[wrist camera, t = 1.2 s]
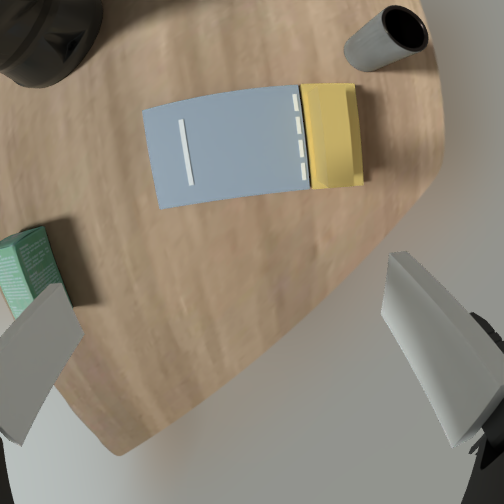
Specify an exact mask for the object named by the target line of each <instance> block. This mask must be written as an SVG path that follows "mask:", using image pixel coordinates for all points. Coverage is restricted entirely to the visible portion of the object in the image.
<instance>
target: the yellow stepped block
mask: <svg viewBox="0 0 504 504" xmlns="http://www.w3.org/2000/svg"><path fill="white" fill-rule="evenodd" d="M299 87H300V93H301V101H302V108H303V116H304V124H305V132H306V141H307V150H308V160H309V171H310V182H311V188H312V189H322V188H336V187H348V186H359V185H363V164H362V149H361V137H360V126H359V116H358V108H357V100H356V92H355V85H354V84H350V83H318V84H301V85H300V86H299Z"/></svg>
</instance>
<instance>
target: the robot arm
mask: <svg viewBox="0 0 504 504" xmlns="http://www.w3.org/2000/svg"><path fill="white" fill-rule="evenodd" d="M102 15H103V8H102V3H101V0H0V73H2V74H4V75H5V76H7V77H9V78H10V79H12V80H13V81H14V82H16V83H17V84H18V85H20V86H23V87H27V88H45V87H48V86H51V85H53V84H55V83H57V82H59V81H60V80H62V79H63V78H64V77H66V76H67V75H68V74H69V73H70V72H71V71H72V70H73V69H74V68H75V67H76V66H77V65H78V64H79V63H80V62H81V60H82V59H83V58H84V57H85V55H86V54H87V52H88V51H89V49H90V48H91V46H92V44H93V42H94V40H95V38H96V36H97V34H98V31H99V29H100V25H101V21H102ZM381 315H382V317H383V318H384V320H385V322H386V323H387V325H388V327H389V328H390V330H391V332H392V334H393V335H394V337H395V338H396V340H397V342H398V344H399V346H400V347H401V349H402V351H403V352H404V354H405V356H406V358H407V360H408V361H409V363H410V365H411V367H412V369H413V371H414V372H415V374H416V376H417V378H418V380H419V382H420V384H421V386H422V387H423V389H424V391H425V393H426V395H427V397H428V399H429V401H430V403H431V405H432V407H433V409H434V411H435V413H436V415H437V417H438V419H439V421H440V424H441V426H442V428H443V430H444V432H445V434H446V436H447V439H448V441H449V443H450V445H451V448H454V447H456V446H458V445H460V444H462V443H464V442H466V441H468V440H469V439H471V438H472V437H473V436H474V435H475V434H476V433H477V432H478V430H479V429H480V428H481V427H482V429H483V431H484V432H485V433H484V434H483V436H482V437H481V438H480V439H479V440H478V441H477V442H476V443H475V444H474V446H472V447H471V449H470V451H469V454H472V453H473V452H474V451H475V450H476V449H477V448H478V447H479V449H478V452H477V453H476V455H477V457H476V460H475V464H474V467H473V470H472V474H471V477H470V480H469V483H468V486H467V489H466V492H465V494H464V497H463V500H462V502H461V504H504V341H502V338H501V337H500V336H499V334H498V333H497V332H496V333H495V330H494V329H493V328H492V327H491V325H490V324H489V323H488V322H487V321H486V320H485V319H483V318H482V317H480V316H478V315H477V314H475V313H474V312H472V313H468V312H467V311H466V309H465V308H464V307H463V306H462V305H461V304H460V303H459V302H458V301H457V300H456V299H455V298H454V297H453V296H452V295H451V294H450V293H449V292H448V291H447V290H446V289H445V287H444V286H443V285H441V284H440V282H438V281H437V280H436V279H435V278H434V277H433V276H432V275H431V274H430V273H429V272H428V271H427V270H426V269H425V268H424V267H423V266H422V265H421V264H420V263H419V262H418V261H417V260H416V259H415V258H413V257H412V256H411V255H410V254H409V253H408V252H407V251H403V252H394V253H389V260H388V269H387V277H386V284H385V291H384V297H383V303H382V309H381ZM83 336H84V332H83V330H82V328H81V326H80V324H79V322H78V320H77V317H76V315H75V313H74V311H73V309H72V306H71V304H70V302H69V300H68V297H67V295H66V292H65V290H64V287H63V285H62V283H54V284H49V285H48V286H47V287H46V288H45V289H44V290H43V291H42V292H41V293H40V294H39V295H38V296H37V297H36V298H35V300H34V301H33V302H32V303H31V304H30V305H29V306H28V307H27V308H26V309H25V310H24V311H23V312H22V313H21V314H20V315H19V317H18V318H17V319H16V320H15V321H14V322H13V323H12V325H11V326H10V327H9V328H8V329H7V330H6V331H5V332H4V334H3V335H2V336H1V337H0V432H1V433H3V435H4V436H5V437H6V438H7V439H8V440H9V441H11V442H13V443H15V444H17V445H19V446H21V447H22V445H23V442H24V440H25V438H26V436H27V434H28V432H29V430H30V428H31V426H32V424H33V422H34V420H35V418H36V416H37V414H38V412H39V410H40V408H41V406H42V404H43V403H44V401H45V399H46V397H47V395H48V394H49V392H50V390H51V388H52V386H53V385H54V383H55V381H56V380H57V378H58V376H59V374H60V373H61V371H62V369H63V368H64V366H65V364H66V363H67V361H68V360H69V358H70V356H71V355H72V353H73V351H74V350H75V348H76V347H77V345H78V344H79V342H80V340H81V339H82V337H83ZM0 504H14V501H13V497H12V493H11V488H10V484H9V479H8V474H7V468H6V462H5V455H4V448H3V442H2V439H1V437H0Z"/></svg>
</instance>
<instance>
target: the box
mask: <svg viewBox="0 0 504 504" xmlns="http://www.w3.org/2000/svg"><path fill="white" fill-rule="evenodd" d="M54 283H62V285H63V287H64V290H65V292H66V295H67V297H68V300H69V302H70V304H71V301H70V299H69V296H68V294H67V291H66V289H65V286H64V283H63V281H62V278H61V276H60V273H59V270H58V267H57V265H56V262H55V259H54V256H53V253H52V250H51V247H50V244H49V241H48V237H47V234H46V230H45V227H42V226H41V227H38V228H34V229H31V230H27V231H24V232H20V233H17V234H14V235H11V236H9V237H7V238H5V239H3V240H1V241H0V285H1V288H2V290H3V293H4V295H5V297H6V300H7V302H8V304H9V306H10V308H11V311H12V313H13V315H14V317H15V319H17V318H18V317H19V315H20V314H21V313H22V312H23V311H24V310H25V309H26V308H27V307H28V306H29V305H30V304H31V303H32V302H33V301H34V300H35V298H36V297H37V296H38V295H39V294H40V293H41V292H42V291H43V290H44V289H45V288H46V287H47V286H48V285H49V284H54ZM71 306H72V304H71ZM72 309H73V306H72Z"/></svg>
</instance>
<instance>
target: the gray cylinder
mask: <svg viewBox="0 0 504 504" xmlns="http://www.w3.org/2000/svg"><path fill="white" fill-rule="evenodd" d="M427 44H428V32H427V29H426V27H425V25H424V23H423V22H422V20H421V19H420V18H419V17H418V16H417V15H416V14H415V13H413V12H412V11H411V10H409V9H407V8H405V7H402V6H397V5H392V6H388V7H386V8H385V9H384V10H382V11H381V12H380V13H379V14H378V15H376V16H375V17H374V18H373V19H371V20H370V21H369V22H368V23H367V24H366V25H364V26H363V27H362V28H361V29H360V30H359V31H357V32H356V33H355V34H354V35H353V36H352V37H351V38H349V39H348V41H347V42H346V43H345V46H344V54H345V57H346V59H347V61H348V62H349V63H350V64H351V65H352V66H353V67H354V68H356V69H358V70H360V71H364V72H371V71H374V70H377V69H379V68H381V67H383V66H386V65H388V64H390V63H393V62H395V61H398V60H400V59H403V58H405V57H408V56H410V55H413V54H415V53H418V52H420V51H422V50H424V49H425V48H426V46H427Z"/></svg>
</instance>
